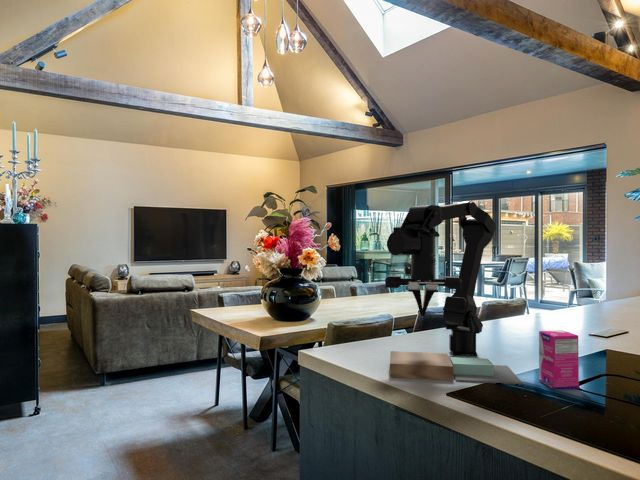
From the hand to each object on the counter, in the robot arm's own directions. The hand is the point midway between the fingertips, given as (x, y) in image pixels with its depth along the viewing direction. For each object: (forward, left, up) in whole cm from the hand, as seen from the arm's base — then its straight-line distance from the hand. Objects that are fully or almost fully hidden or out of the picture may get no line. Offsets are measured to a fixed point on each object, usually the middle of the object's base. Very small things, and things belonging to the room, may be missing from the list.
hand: (422, 316), depth 116 cm
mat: (-14, +7, -12) cm, 19 cm away
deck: (+1, +7, -12) cm, 14 cm away
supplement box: (-28, +13, -12) cm, 33 cm away
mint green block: (-11, +7, -10) cm, 16 cm away
